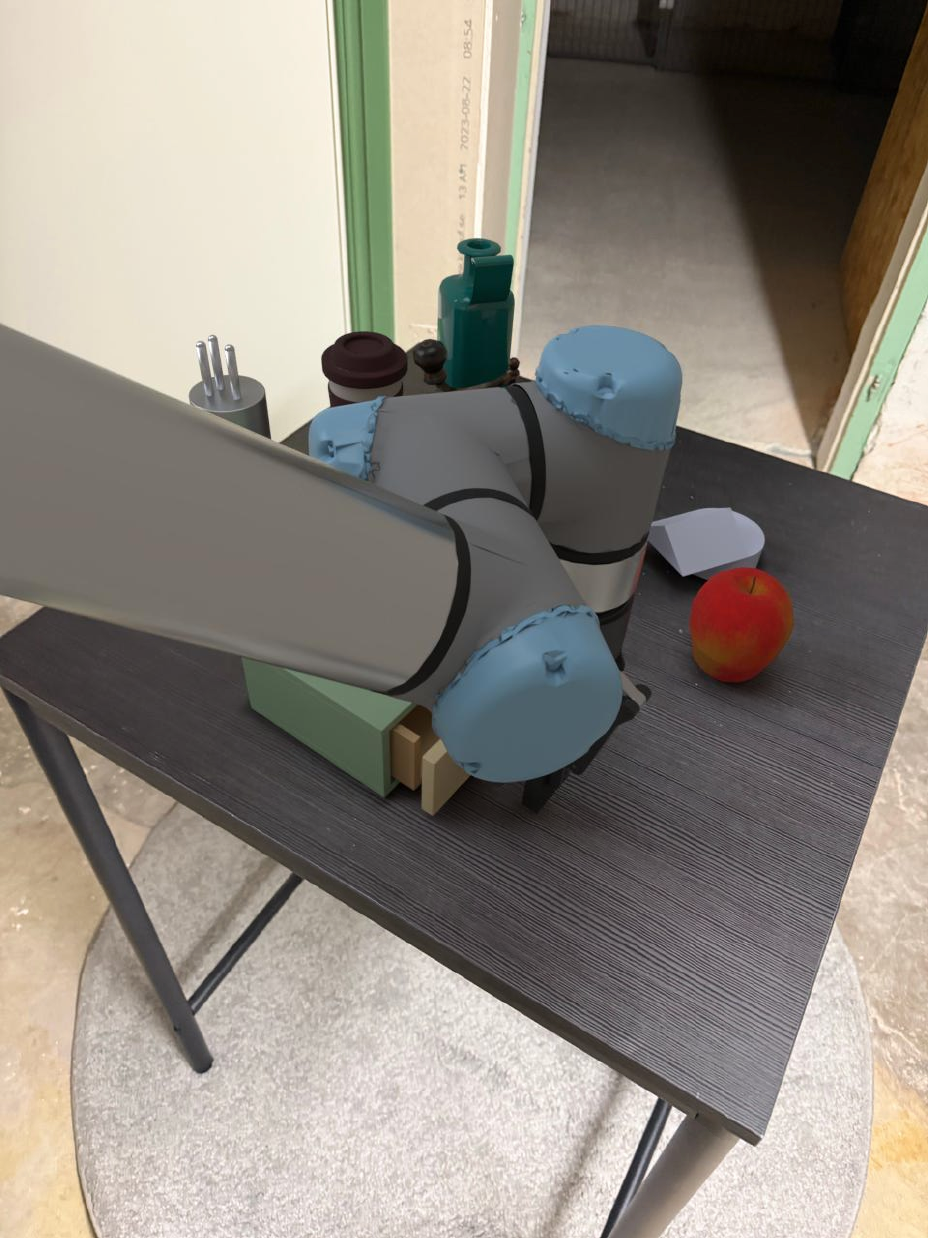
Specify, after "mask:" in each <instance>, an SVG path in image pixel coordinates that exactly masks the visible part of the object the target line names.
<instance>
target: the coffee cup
mask: <svg viewBox="0 0 928 1238" xmlns="http://www.w3.org/2000/svg"><path fill="white" fill-rule="evenodd" d="M320 362H321V363H320V364H321V371H322V373H323V375H324V377H325V378H326V379H327V381H328V382H327V393H328V399H329V406H330V407H329V408H332V407H338V406H344V405H349V404H355V403H361V402H366V401H372V400H376V399H377V398H378V397H381V396H386V397H387V398H389V397H400V396H404V383H403V378H405V376H406V374H407V373H408V369H409V368H408V354H407V353H406V351H405V349H403V348H402V347H401V346H400V345H398V344H396V343H395V342H394V341H393V340H392V338H389V337H388V336H387V335H385V334H383V333H380V332H377V331H376V332H375V331H370V330H369V331H368V330H359V331H358V330H357V331H352V332H348V333H345V334H343V335H341V336H339V337H338V338H337V339H336V340H335V341H334V343H333V344H331V345H329V346H328V347H327V348H325V349H324V350H323V351H322V354H321V356H320Z"/></svg>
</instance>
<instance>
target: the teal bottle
mask: <svg viewBox="0 0 928 1238" xmlns="http://www.w3.org/2000/svg"><path fill="white" fill-rule="evenodd" d="M456 250H457V251H458V252H459V253H460V254H461V255H462V256H463V266H462V273H455V274H452V275H448V276H446V277H444V278H443V279H442V280H440V283H439V286H438V290H437V320H436V321H437V324H436V325H437V329H436V340H438V341H441V342H442V343H443V345H444V346H445V348H446V349H447V351H448V356H447V359H446V361H445V363H444V365H443V367H444V369H445V371H446V372H447V374H448V377H447V379H446V380H445V383H447V384H448V385H449V386H451V387H453V388H469V387H473V386H476V385H480V384H484V383H487V382H490V381H493V380H495V379H496V378H498V377H501V376H502V375H504V374H506V372H507V370H508V369H509V368H510V367H509V363H508V361H509V360H510V359H511V353H512V343H513V332H514V330H513V329H514V319H515V310H516V309H515V308H516V298H515V295H514V293H513V291H512V290H511V288H512V287H511V286H512V281H513V280H512V279H513V274H514V266H515V265H514V264H515V259H514V256H513V255H512V254H501V255H499V254H500V253H501V252H502V246H501V245H500V244H499V243H498V242H496V241H494V240H491V239H488V238H483V237H472V238H471V237H470V238H467V239H466V238H465V239H463V240H461V241H459V242H458V243H457V245H456ZM500 387H508V382H507V383H505V384H503V385H501V386H500ZM442 392H443V391H442V390H440V389H439V388H437V386H436V385H435V393H442Z"/></svg>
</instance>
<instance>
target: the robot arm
mask: <svg viewBox="0 0 928 1238" xmlns="http://www.w3.org/2000/svg"><path fill="white" fill-rule="evenodd" d="M534 376H535V380H531V381H527V382H525V381H524V382H516V383H515V384H512V385H510V386H508V387H501V388H500V387H495V388H484V389H474V390H463V391H453V392H442V393H436V392H433V393H422V394H411V395H403V396H400V397H389V398H387V397H386V396H381V397H378V398H377V399H376V400H372V401H366V402H361V403H355V404H349V405H344V406H338V407H332V408H331V407H327V408H325V409H322V410H320V411H319V412H318V413H317V414H316V415H315V416H314V417H313V419H312V420H311V423H310V426H309V429H308V454H305V453H303V452H300V451H298V450H296V449H294V448H292V447H290V446H287V445H284V444H282V443H280V442H277V441H275V440H274V439H272V438H271V439H268V438H266V437H264V436H262V435H259V434H257V433H255V432H252V431H250V430H248V429H245V428H243V427H241V426H238V425H236V424H234V423H231V422H229V421H227V420H225V419H222V418H220V417H218V416H215V415H213V414H211V413H208V412H206V411H204V410H201V409H199V408H197V407H195V406H192V405H190V403H187V402H185V401H183V400H180V399H178V398H176V397H174V396H171V395H169V394H167V393H164V392H162V391H160V390H157V389H156V388H155V389H154V388H153V387H151V386H148V385H146V384H144V383H141V382H139V381H136V380H135V379H133V378H130V377H127V376H125V375H122V374H121V373H119V372H116V371H113V370H112V369H109V368H106V367H104V366H102V365H100V364H97V363H95V362H93V361H91V360H88V359H86V358H84V357H81V356H79V355H77V354H74V353H72V352H70V351H67V350H65V349H63V348H60V347H58V346H55V345H54V344H52V343H49V342H47V341H44V340H42V339H40V338H37V337H35V336H33V335H31V334H29V333H26V332H25V331H24V332H23V331H21V330H19V329H16V328H14V327H12V326H10V325H8V324H5V323H3V322H0V596H3V597H7V598H11V599H15V600H17V601H22V602H26V603H29V604H34V605H38V606H42V607H44V608H45V607H46V608H49V609H53V610H57V611H60V612H64V613H69V614H72V615H76V616H80V617H84V618H88V619H91V620H95V621H98V622H103V623H107V624H111V625H115V626H118V627H122V628H127V629H131V630H134V631H138V632H142V633H145V634H149V635H154V636H157V637H162V638H165V639H169V640H173V641H177V642H180V643H184V644H189V645H192V646H196V647H200V648H203V649H207V650H212V651H215V652H219V653H222V654H226V655H229V656H234V657H238V658H241V657H242V658H245V659H249V660H253V661H257V662H261V663H265V664H269V665H272V666H276V667H280V668H284V669H288V670H292V671H296V672H299V673H303V674H307V675H311V676H315V677H319V678H323V679H326V680H330V681H334V682H338V683H342V684H346V685H350V686H353V687H357V688H361V689H365V690H369V691H372V692H375V693H379V694H383V695H386V696H389V697H392V698H395V699H399V700H403V701H407V702H411V703H415V704H418V705H422V706H424V707H426V708H427V709H428V710H430V711H431V713H432V726H433V730H434V732H435V734H436V735H437V736H438V737H440V738H441V740H442V742H443V744H444V746H445V748H446V750H447V752H448V753H449V755H450V756H451V758H452V760H453V761H454V762H455V763H456V764H457V765H459V766H460V767H461V768H463V769H464V770H465V771H466V773H468V774H470V776H473V777H474V778H477V779H479V780H483V781H487V782H491V781H492V782H504V783H505V782H506V783H517V782H524V786H523V793H522V799H521V806H523V807H524V808H525V809H527V810H529V811H530V812H532V813H534V815H538V813H540V811H541V810H542V809H543V808H544V806H545V805H546V804H547V803H548V802H549V800H550V799H551V797H553V795H555V793H556V791H558V789H559V788H560V787H561V786H562V785H563V784H564V783H565V781H566V780H567V779H568V778H569V776H570V771H571V773H572V774H574V775H576V776H582V775H583V774H584V772H585V771H586V770H587V769H588V767H589V766H590V765H591V764H592V763H593V761H594V760H595V759H596V758H597V756H598V755H599V754H600V753H601V751H602V750H603V749H604V747H605V746H606V745H607V743H608V742H609V740H610V739H611V737H612V736H613V734H615V732H616V730H617V729H618V728H619V726H621V725H623V724H625V723H627V722H630V721H632V720H634V719H635V717H636V716H637V715H638V714H639V712H641V710H642V709H643V707H644V706H645V705H646V704H647V702H648V701H649V700H650V699H651V698H652V695H653V693H652V690H651V689H650V687H649V686H648V685H646V684H644V683H638V684H634V683H633V682H632V681H631V679H630V678H629V677H628V676H627V675H626V674H625V673H624V671H625V667H626V660H625V658H624V654H623V643H624V641H625V638H626V635H627V631H628V626H629V622H630V618H631V614H632V611H633V610H632V609H633V605H634V601H635V595H636V594H635V592H636V589H637V586H638V583H639V579H640V574H641V570H642V566H643V562H644V559H645V555H646V550H647V546H648V542H649V541H648V536H649V531H650V528H651V524H652V522H653V521H654V516H655V513H656V512H655V511H656V508H657V505H658V501H659V496H660V492H661V487H662V483H663V481H664V476H665V473H666V469H667V464H668V461H669V457H670V453H671V450H672V447H673V446H675V442H676V436H677V433H676V431H677V430H676V428H677V424H678V417H679V412H680V408H681V407H680V406H681V401H682V399H681V398H682V396H681V395H682V394H681V393H682V388H683V370H682V367H681V364H680V362H679V361H678V359H677V357H676V355H675V354H674V353H673V352H671V351H669V350H668V348H667V347H666V345H665V344H663V342H661V341H659V340H657V339H656V338H654V337H652V336H650V335H648V334H645V333H643V332H640V331H637V330H635V329H634V330H633V329H630V328H626V327H620V326H615V325H602V324H601V325H599V324H598V325H597V324H596V325H593V324H592V325H584V326H577V327H574V328H572V329H570V330H569V331H568V332H567V333H559V334H557V335H555V336H553V337H552V338H550V340H548V342H547V343H546V345H545V346H544V347H543V349H542V352H541V354H540V358H539V363H538V366H537V367H536V368H535V374H534ZM242 658H241V659H242ZM506 783H505V784H506Z"/></svg>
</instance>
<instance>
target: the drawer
mask: <svg viewBox="0 0 928 1238" xmlns="http://www.w3.org/2000/svg"><path fill="white" fill-rule="evenodd" d="M389 738H390V774H391V776H392V777H394V778H396V779H397V780H399V781H400V783H401V784H403V785H404V786H406V787H408V788H409V789H410V790H412V791H415V790H416V789H418V787H419V786H420V785H421V810H423V811H424V812H426V813H427V814H429V815H430V816H431V817H433V816H435V815H436V813H438V811H439V810H440V809H441V808H442V807H443V806H444V805H445V804H446V803H447V802H448V801H449V799H450V798H451V797H452V796H453V795H454V794H455V793H456V792H457V790H459V789H460V787H461V786H463V784H464V783H465V782H466V781H467V780H468V779H469V778H470V777H471V775H470V774H468V773H466V771H465V770H464V769H463V768H461V767H460V766H459V765H457V764H456V763H455V762H454V761H453V760H452V758H451V756H450V755H449V753H448V752H447V750H446V748H445V746H444V744H443V742H442V740H441V738H440V737H438V736H437V735H436V734H435V732H434V730H433V726H432V713H431V711H430V710H428V709H427V708H426V707H424V706H422V705H417V706H416V707H415V708H413V709H412V710H411V711H410V712H409V713H408V714H407V715H406V716H405V717H404V718H403V719H402V720H401V721H400V722H399V723H398V724H397V725H395V726H394V727H393V728H392V729H391V730H390V731H389ZM490 783H491V784H492V785H494V786H495V787H497V788H503V786H504V785H505V784H506V783H507V782H505V783H504V782H492V781H490Z"/></svg>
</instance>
